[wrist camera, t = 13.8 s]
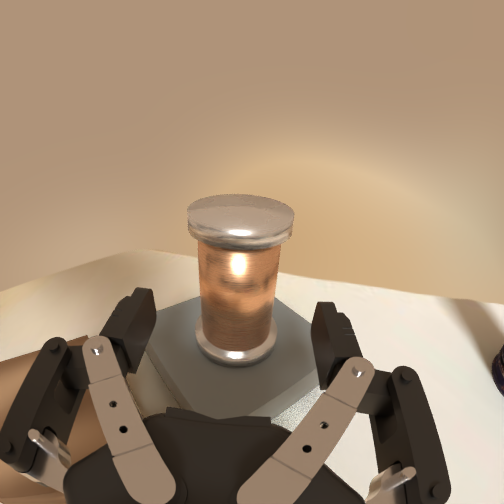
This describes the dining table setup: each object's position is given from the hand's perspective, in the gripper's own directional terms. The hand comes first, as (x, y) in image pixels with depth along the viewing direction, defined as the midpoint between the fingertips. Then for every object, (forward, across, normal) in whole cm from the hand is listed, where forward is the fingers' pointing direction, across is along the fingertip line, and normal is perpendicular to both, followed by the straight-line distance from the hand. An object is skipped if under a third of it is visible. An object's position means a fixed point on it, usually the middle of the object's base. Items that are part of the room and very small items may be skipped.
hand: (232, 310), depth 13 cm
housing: (+6, 0, +8) cm, 10 cm away
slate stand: (+6, 0, +12) cm, 13 cm away
